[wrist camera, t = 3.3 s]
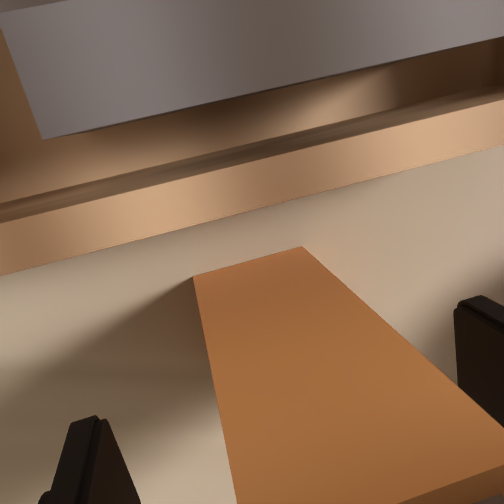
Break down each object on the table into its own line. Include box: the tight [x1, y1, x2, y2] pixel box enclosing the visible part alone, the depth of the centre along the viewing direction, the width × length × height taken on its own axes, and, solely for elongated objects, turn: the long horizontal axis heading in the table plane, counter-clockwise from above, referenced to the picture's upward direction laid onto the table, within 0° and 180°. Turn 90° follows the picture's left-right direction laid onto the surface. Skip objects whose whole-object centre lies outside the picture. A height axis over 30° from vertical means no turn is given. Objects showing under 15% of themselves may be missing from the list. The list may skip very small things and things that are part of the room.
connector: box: [193, 246, 504, 504], centre depth 10 cm, size 4×4×11 cm
